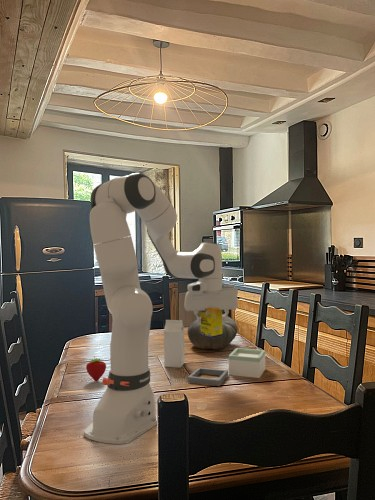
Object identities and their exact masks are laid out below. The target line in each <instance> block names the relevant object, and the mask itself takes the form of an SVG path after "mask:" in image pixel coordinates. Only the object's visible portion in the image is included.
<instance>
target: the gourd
mask: <svg viewBox="0 0 375 500" xmlns="http://www.w3.org/2000/svg"><path fill="white" fill-rule="evenodd" d="M224 314H225V313H222V316H224ZM238 330H239V328H238V325H237V322H236V321H235V320H234V319H232V318H231V317H230V316H228V315H227V317H226V322H222V332H223V336H219V337H215V338H209V337H205V336H201V322H200V323H197V319H195V320H194V321H193V322H192V323H190V324H189V326H188V328H187V338H188V339H189V341H190V343H191V344H192V345H193V346H194V347H196V348H198V349H202V350H208V349H211V350H214V351H216V350H221V349H222V348H225V347H226V346H228V345H230V344H231V343H232V342H233V340H235V338H236V336H237V335H238Z"/></svg>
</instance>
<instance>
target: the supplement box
mask: <svg viewBox="0 0 375 500" xmlns="http://www.w3.org/2000/svg"><path fill="white" fill-rule="evenodd" d="M222 314H223V310H219V308H206V309H205V310H203V311H200V317H201V336H205V337H209V338H215V337H219V336H223V332H222Z"/></svg>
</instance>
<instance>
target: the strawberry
mask: <svg viewBox="0 0 375 500" xmlns="http://www.w3.org/2000/svg"><path fill="white" fill-rule="evenodd" d="M95 357H96V355H94V357H93V359H90V361H89V362H88V363H87V364H86V366H85V367H86V372H87V374H88V375H89V376H90V377H91V379H93V381H95V382H98V381H99V380H100V378H102V377H103V376H104V374H105V372H106V370H107V364H106V362H104V360H101V358H95Z"/></svg>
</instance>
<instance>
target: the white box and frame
mask: <svg viewBox="0 0 375 500" xmlns="http://www.w3.org/2000/svg"><path fill="white" fill-rule="evenodd" d="M265 370H266V350H264V349H256V348H255V349H254V348H241V347H236V348H234V349H233V351H231V353H229V355H228V370H227V369H218V368H209V367H208V368H207V367H198V368H197V369H195V370H194V371H192V373H190V375H188V376H187V383H191V384H198V385H199V384H200V385H206V384H208V386H214V385H216V386H217V387H220V386H221V385H220V384H223V383H224V381H225V380H226V379H227V378H228V376H235V377H236V376H237V377H245V378H254V379H255V378H257V379H260V378H261V376H262V375H263V373H264V372H265ZM199 375H210V376H211V375H212V376H218V377H217V378H209V377H200V376H199Z"/></svg>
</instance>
